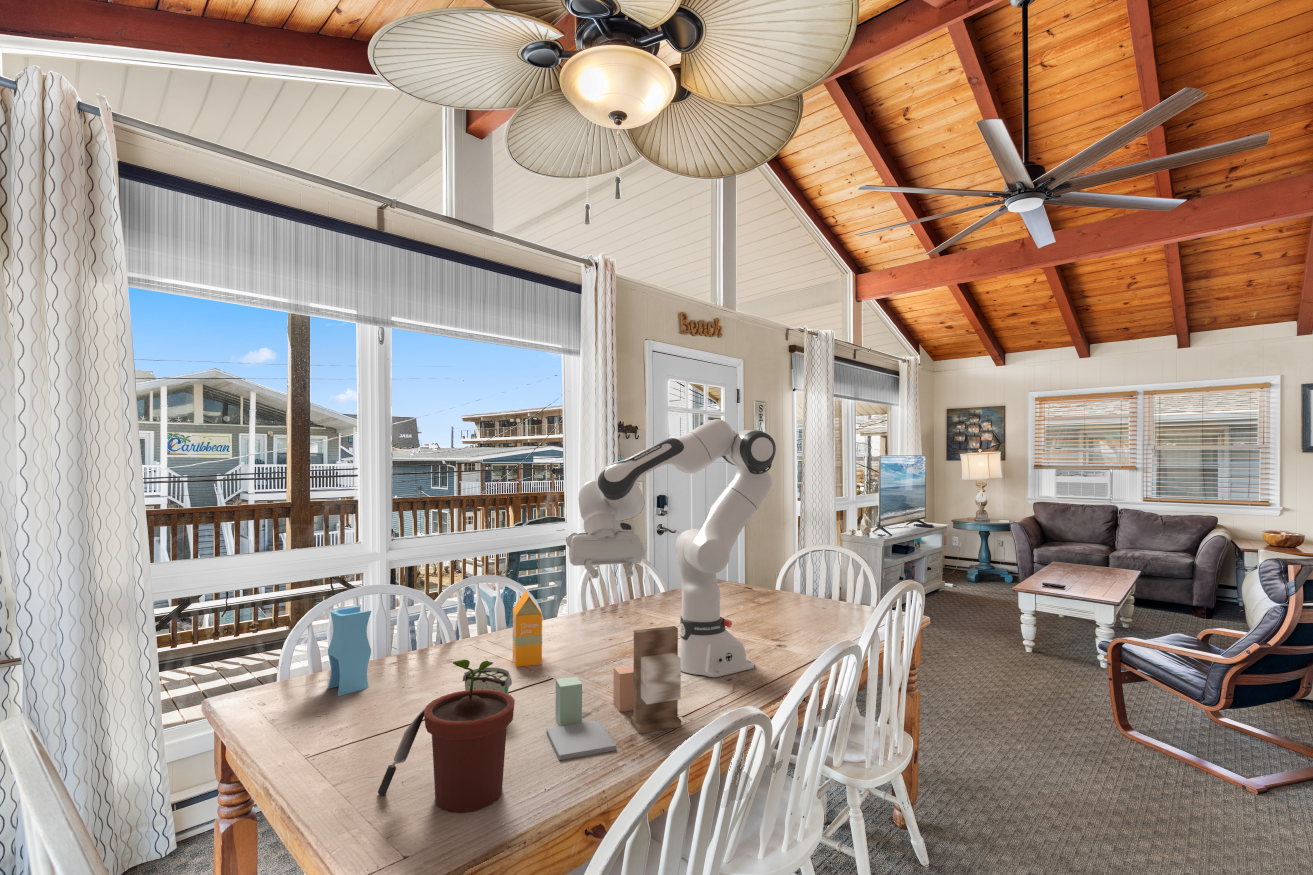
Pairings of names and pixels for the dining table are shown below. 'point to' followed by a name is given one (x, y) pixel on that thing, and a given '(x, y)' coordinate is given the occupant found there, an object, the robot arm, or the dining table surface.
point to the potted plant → (463, 745)
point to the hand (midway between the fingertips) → (612, 576)
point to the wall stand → (656, 679)
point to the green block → (568, 701)
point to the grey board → (580, 740)
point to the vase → (349, 650)
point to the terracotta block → (623, 688)
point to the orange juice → (527, 632)
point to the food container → (489, 679)
